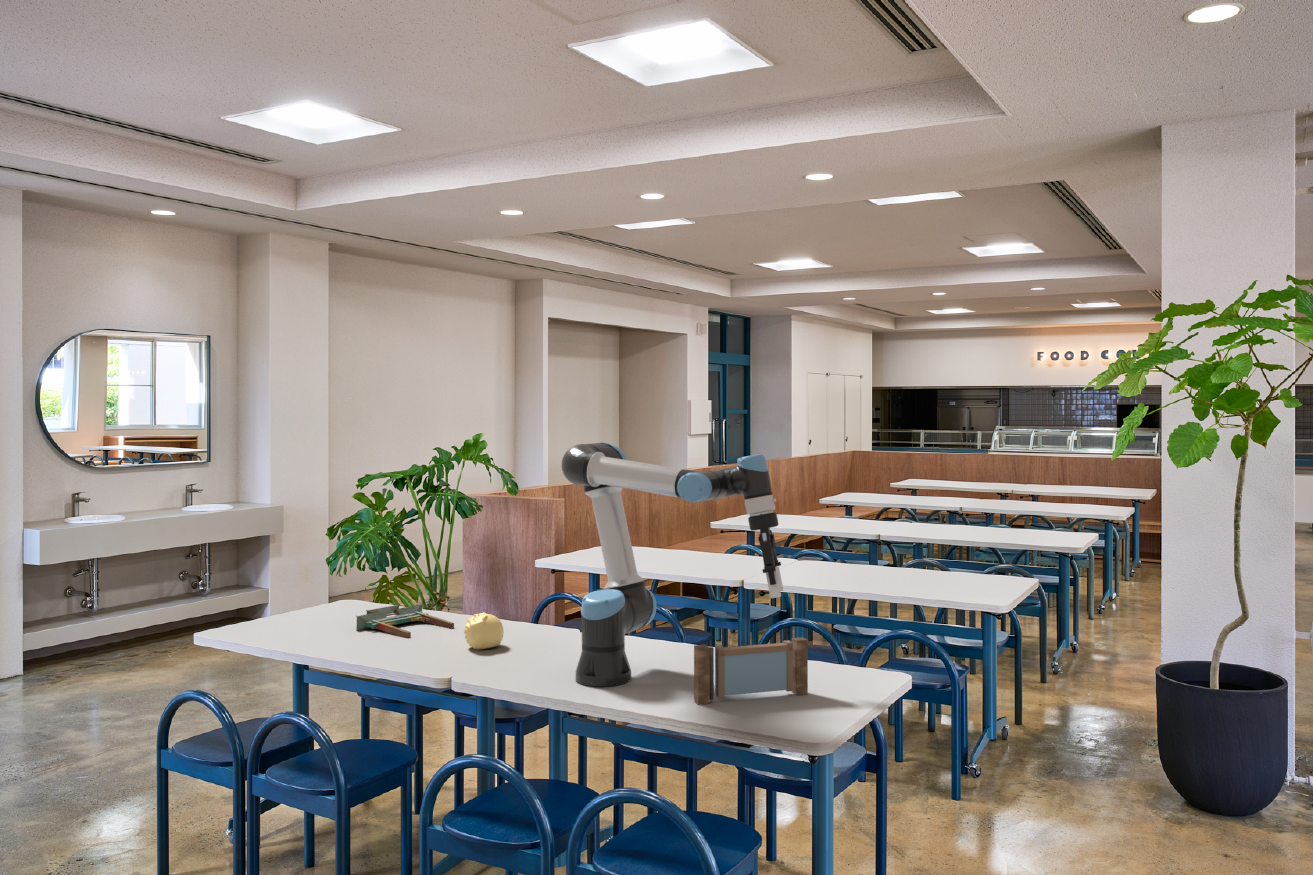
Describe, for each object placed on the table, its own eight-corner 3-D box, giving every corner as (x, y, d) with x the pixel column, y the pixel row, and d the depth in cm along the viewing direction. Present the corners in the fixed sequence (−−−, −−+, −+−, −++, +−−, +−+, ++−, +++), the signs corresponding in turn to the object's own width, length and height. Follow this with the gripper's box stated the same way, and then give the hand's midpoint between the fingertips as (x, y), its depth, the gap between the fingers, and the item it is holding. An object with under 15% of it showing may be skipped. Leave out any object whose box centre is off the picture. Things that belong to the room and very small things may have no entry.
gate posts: (698, 704, 235) (697, 648, 235) (694, 701, 238) (693, 645, 238) (807, 694, 243) (807, 639, 243) (802, 691, 246) (802, 637, 246)
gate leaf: (718, 697, 237) (718, 648, 236) (715, 694, 239) (715, 645, 239) (792, 691, 242) (792, 642, 242) (788, 688, 245) (788, 640, 245)
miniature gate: (397, 629, 306) (344, 611, 325) (396, 646, 306) (343, 627, 325) (463, 616, 327) (410, 599, 346) (462, 632, 327) (409, 614, 346)
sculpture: (462, 644, 300) (462, 610, 300) (501, 641, 303) (500, 608, 303) (465, 653, 289) (465, 617, 289) (505, 650, 292) (505, 615, 292)
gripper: (773, 512, 236) (789, 597, 235) (778, 509, 261) (793, 586, 259) (743, 517, 237) (759, 602, 236) (751, 514, 262) (765, 591, 260)
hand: (777, 594), depth 247 cm, fingers open, 13 cm apart
